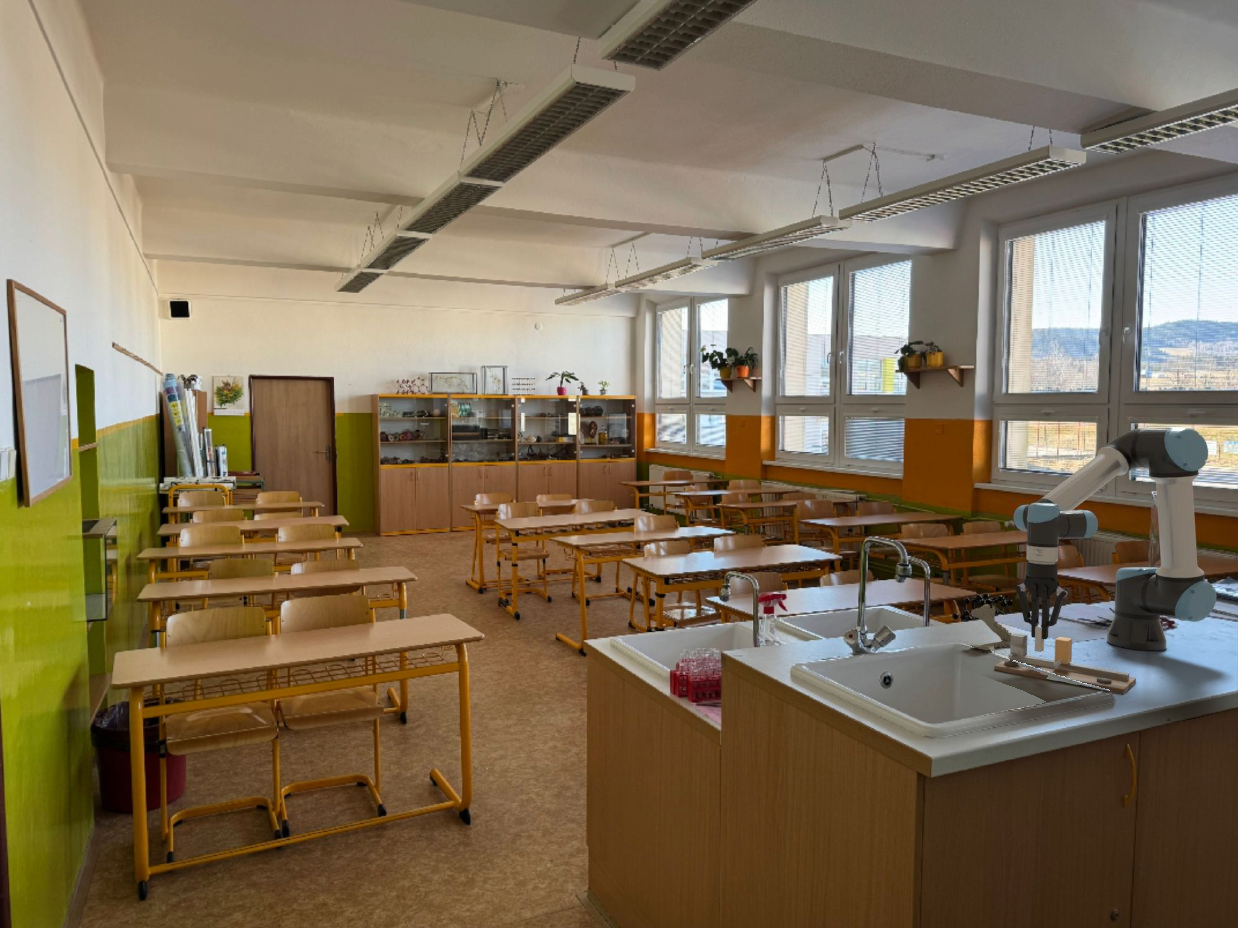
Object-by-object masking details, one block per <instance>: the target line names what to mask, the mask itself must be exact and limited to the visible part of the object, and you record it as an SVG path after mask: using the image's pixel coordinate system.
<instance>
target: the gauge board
mask: <svg viewBox="0 0 1238 928" xmlns="http://www.w3.org/2000/svg"><path fill="white" fill-rule="evenodd" d="M1007 658H1009V659H1010V661H1005V659H1004V660H1002V661H1000V662H999V663H996V664H995V665H994V671H999V672H1003V673H1008V674H1012V675H1013V674H1014V675H1020V676H1025V677H1030V678H1036V679H1039V680H1040V679H1041V680H1046V678H1047V677H1048V675H1045V674H1043V673H1040V672H1037V671H1034V670H1031V669H1028V668H1026V667H1022V666H1019V665H1018V663H1016V662H1012V661H1013V660H1016V661H1018V662H1021V663H1026V664H1027V665H1031V666H1032V667H1035V668H1040V669H1042V670H1045V671H1049V672H1050V673H1055V674H1056V675H1060V676H1065V677H1066V678H1070V679H1071V680H1076V681H1080V682H1082V683H1087V684H1092V685H1095V686H1099V687H1101V688H1105V689H1109V690H1110V691H1112V692H1111V693H1114V694H1121V695H1124V694H1126V693H1127V692H1128V691H1129V690H1130V689H1131V688H1133V686H1135V685H1136V683H1137V677H1130V673H1127V672H1124V671H1123V672H1122V671H1118V670H1111V669H1105V668H1099V667H1094V666H1088V665H1082V664H1075V663H1071V662H1070V663H1068V664H1062V663H1061V664H1060V665H1058V669H1055V666H1053V663H1054V662H1055V659H1054V660H1053V659H1049V658H1048V659H1047V658H1041V657H1036V656H1031V655H1030V656H1029V655H1028V634H1026V633H1020V632H1014V633H1013V634H1011V645H1010V653H1009V654H1008V655H1007ZM1046 681H1047V680H1046Z"/></svg>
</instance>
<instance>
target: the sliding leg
mask: <svg viewBox="0 0 1238 928" xmlns="http://www.w3.org/2000/svg"><path fill="white" fill-rule="evenodd" d="M1054 640H1055V641H1054V661H1055V662H1054V663H1053V666H1055V669H1058V665H1060V664H1061V663H1062V664H1068V663H1071V662H1072V661H1073V660H1072V657H1073V656H1072V655H1073V638H1070V637H1064V636H1058V637H1057V638H1055V639H1054Z"/></svg>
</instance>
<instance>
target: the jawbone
mask: <svg viewBox="0 0 1238 928" xmlns="http://www.w3.org/2000/svg"><path fill="white" fill-rule="evenodd" d="M970 613H971V616H973V617H974V618H977V619H979V620H981V621H983V622H984V624H985V625H986V626H987V627H988V628H989V629H990V630H991V631H992V632H993V633H994V634H996V635H997V636H998V638H1000V641H997V642H995V641H994V642H990V643H985V644H984V643H983V644H970V646H969V647H971V646H972V647H975V648H974V649H979V650H984V651H991V650H992V651H995V652H996V650H995V648H994V647H996V649H998V648H997V647H1002V648H1006V647H1009V646H1011V635H1012V632H1009V630H1008V629H1007V628H1006V627H1004V626H1002V624H1000V623H998V621H996V619H995V617H996V607H995V606H994V605H992V608H991V606H990V604H988V603H987V604H983V605H982V606H981V607H976V608H975V609H972V610H971V612H970ZM972 647H971V648H972ZM992 651H991V652H992Z"/></svg>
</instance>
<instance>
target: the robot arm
mask: <svg viewBox="0 0 1238 928" xmlns="http://www.w3.org/2000/svg"><path fill="white" fill-rule="evenodd" d="M1208 458H1209V448H1208V445H1207V441H1206V439H1205V438H1204V436H1202V434H1200V433H1199V432H1198V431H1197V430H1196V429H1193V428H1189V427H1181V426H1175V427H1174V426H1172V427H1169V426H1166V427H1161V426H1159V427H1149V426H1147V427H1145V426H1143V427H1137V428H1134V429H1132V430H1129V431H1126V432H1125V433H1123V434H1120V435H1119V436H1117V437H1116V438H1113V439H1111V440H1110V441H1109V442H1107V443H1106V444H1105V445H1103V446H1102V447H1101V448H1099V449H1098V451H1097V453H1096V456H1095V457H1093V458H1092V459H1091V460H1090V461H1088V462H1087V463H1086V464H1084V465H1082V467H1081V468H1080V469H1078V470H1077V471H1076V472H1074V473H1073V474H1071V475H1070V476H1069V477H1067V478H1066V479H1065V480H1064V481H1063V482H1061V483H1060V484H1059V485H1057V486H1055V487H1054V488H1053V489H1052V490H1050V491H1049V492H1048V493H1047V494H1046V495H1044V496H1042V497H1041V498H1040V499H1039V500H1038V501H1036V502H1033V503H1030V504H1023V505H1020V506H1018V507H1017V508H1016V509H1015V511H1014V514H1013V523H1014V524H1015V525H1014V526H1015V527H1016V528H1017V529H1019V530H1020V531H1023V532H1026V560H1027V562H1025V578H1024V580H1023V583H1020V584H1018V585H1015V586H1014V590H1015V591H1016V593H1017V596H1018V599H1019V604H1020V609H1021V613H1022V617H1023V622H1025V623H1027V624H1029V625H1031V627H1030V628H1031V633H1030V634H1031V636H1030V637H1031V638H1034V652H1039V653H1042V652H1043V651H1044V650H1045V640H1047V639H1048V638H1049V627H1053V626H1055V625H1057V624H1058V623H1057V622H1058V620H1059V616H1060V613H1061V610H1062V607H1063V604H1064V600H1065V598H1066V597H1067V596H1068V594H1069V591H1068V590H1065V589H1064V588H1062V587H1060V582H1059V581H1058V574H1059V573H1058V569H1059V565H1058V563H1056V562H1058V561H1059V542H1060V541H1059V540H1063V539H1066V540H1067V539H1069V540H1070V539H1073V540H1074V539H1079V540H1082V539H1088V538H1092V537H1093V536H1094V535H1095V534H1096V533H1097V531H1098V528H1099V521H1098V518H1097V517H1096V515H1095V514H1094V513H1093V512H1092V511H1090V510H1084V509H1083V510H1082V509H1077V510H1075V508H1077V507H1078V506H1080V504H1082V503H1083V502H1084V501H1086V500H1087V499H1089V498H1090V497H1091V496H1092V495H1094V494H1095V493H1096V492H1097V491H1099V490H1100V489H1101V488H1103V487H1104V486H1105V485H1107V484H1108V483H1109V482H1111V481H1112V480H1113V479H1114V478H1116V477H1117V476H1124V475H1126V474H1127V473H1128V472H1129V471H1132V470H1134V469H1135V470H1136V469H1143V468H1144V469H1148V476H1149V478H1150V479H1151V480H1152V481H1154V482H1155V487H1156V490H1155V491H1156V505H1157V520H1158V521H1157V522H1158V535H1159V536H1158V537H1159V553H1160V555H1159V556H1160V566H1159V567H1152V566H1151V567H1150V566H1149V567H1148V566H1147V567H1144V566H1141V567H1140V566H1138V567H1137V566H1136V567H1135V566H1133V567H1131V566H1130V567H1129V566H1128V567H1121V568H1119V569H1117V571H1116V574H1115V581H1114V585H1115V586H1114V617H1113V619H1112V622H1111V624H1110V627H1109V629H1108V630H1107V634H1106V635H1107V637H1106V641H1107V643H1109V644H1111V645H1113V646H1116V647H1120V648H1125V649H1130V650H1131V649H1132V650H1139V651H1163V650H1166V649H1167V638H1166V634H1165V632H1164V629H1163V626H1162V623H1161V616H1164V617H1168V618H1172V619H1177V620H1178V621H1183V622H1184V621H1186V622H1193V623H1198V622H1201V621H1204V620H1205V619H1206V618H1208V617H1209V615H1210V614H1211V612H1212V611H1213V610H1214V608H1215V606H1216V603H1217V591H1216V588H1215V587H1214V586H1213V585H1212V584H1211V583H1210V582H1208V581H1206V575H1205V571H1204V570H1203V569H1201V568H1200V567H1199V566H1198V557H1197V556H1198V555H1197V553H1198V551H1197V538H1196V536H1197V534H1196V521H1195V519H1196V517H1195V502H1194V486H1193V485H1194V484H1193V481H1194V480H1196V479H1197V478H1198V476H1199V470H1201V469H1203V468H1204V466H1205V465H1206V463H1207V462H1206V461H1207V460H1208ZM1026 590H1027V591H1028V593H1030V595H1031V596H1030V598H1031V610H1030V606H1029V601H1028V597H1027V593H1026ZM1055 592H1056V598H1055V602H1054V606H1053V609H1052V612H1051V614H1050V608H1051V606H1050V603H1051V597H1052V596H1053V595H1054V594H1055ZM1040 600H1041V624H1040Z"/></svg>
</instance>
